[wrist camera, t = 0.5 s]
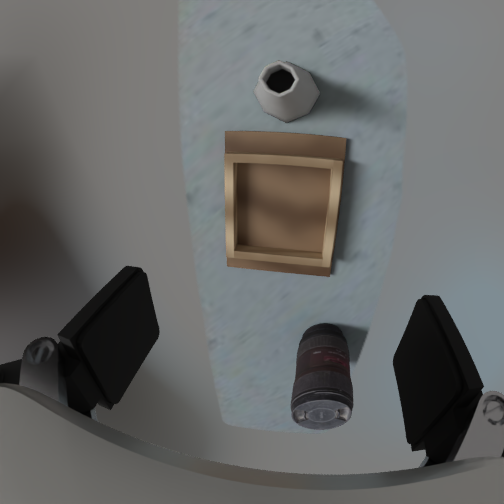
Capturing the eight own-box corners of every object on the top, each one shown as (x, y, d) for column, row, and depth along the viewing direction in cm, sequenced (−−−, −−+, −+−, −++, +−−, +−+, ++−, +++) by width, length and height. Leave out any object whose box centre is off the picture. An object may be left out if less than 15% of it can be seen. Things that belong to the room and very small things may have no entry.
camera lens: (344, 314, 40) (352, 396, 26) (349, 350, 43) (355, 427, 30) (292, 323, 42) (283, 403, 29) (302, 357, 45) (296, 432, 32)
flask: (331, 94, 27) (342, 82, 18) (286, 133, 30) (278, 137, 21) (286, 52, 26) (278, 25, 17) (242, 91, 29) (217, 80, 20)
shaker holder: (226, 131, 31) (220, 132, 29) (345, 138, 29) (349, 139, 27) (228, 263, 39) (223, 273, 37) (329, 273, 37) (330, 284, 35)
